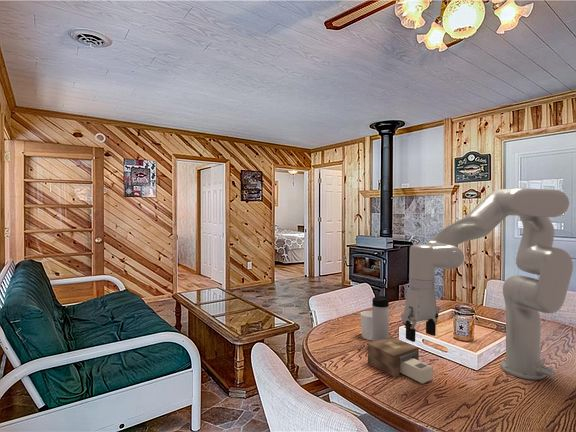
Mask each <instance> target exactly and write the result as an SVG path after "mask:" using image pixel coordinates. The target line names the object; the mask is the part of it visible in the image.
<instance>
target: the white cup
mask: <svg viewBox="0 0 576 432" xmlns="http://www.w3.org/2000/svg"><path fill="white" fill-rule="evenodd" d="M360 327H361V337H362V338H363V339H364V340H367V341H372V310H365V311H361V312H360Z"/></svg>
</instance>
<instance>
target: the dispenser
mask: <svg viewBox="0 0 576 432" xmlns="http://www.w3.org/2000/svg"><path fill="white" fill-rule="evenodd" d="M419 349H420V347H418V346H415V345H414V344H411V343H409V342H406V341H404V340H400V339H399V338H396V337H393V336H392V335H391V336H389V337H388V338H384V339H381V340H378V341H374V342H372V341H371V342H368V343H367V364H369V365H371V366H372V367H375V368H376V369H378V370H380V371H381V372H384V373H386V374H387V375H389V376H392V377H393V378H395V377H398V376H400V372H399V361H402V360H404V359H407V358H410V357H412V358H414V359H416V360H418V361H420V357H419V356H420V354H419V351H420V350H419Z"/></svg>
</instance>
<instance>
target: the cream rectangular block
mask: <svg viewBox="0 0 576 432" xmlns="http://www.w3.org/2000/svg"><path fill="white" fill-rule="evenodd" d="M433 367H434V366H431V365H429V364H427V363H425V362H422V361H421V360H419V361H418V360H416V359H414V358H412V357H410V358H407V359H404V360H402V361H399V374H400V373H401V374H402V375H405V376H406V377H409V378H410V379H412V380H414V381H416V382H419V383H420V384H422V385H423V384H425V383H427V382H429V381H432V380H433V379H434V378H433V377H434V370H433V369H434V368H433Z"/></svg>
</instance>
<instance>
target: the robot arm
mask: <svg viewBox="0 0 576 432" xmlns="http://www.w3.org/2000/svg"><path fill="white" fill-rule="evenodd" d="M569 206H570V199H569V197H568V196H567V194H566V193H565V192H563V191H561V190H559V189H548V188H525V187H513V188H501V189H500V188H499V189H496V190H494V191H492V192H490V193H489V194H488V195H487V196H485V197H484V199H482V201H480V202H479V203H478V204H477V205H476V206H475V208H473V209H472V210H471V211H470V212H469V213H468V214H467V215H465V216H463V218H461V219H459V220H457V221H455V222H454V223H451V224H449V225H448V226H446V227H444V228H442V229H441V230H440V231H439V232H437V233H436V234H434V235H433V237H432V238H431V239H429V241H427V243H426V244H424V243H423V244H422V243H421V244H420V243H418V244H417V243H416V244H412V245H411V246H410V248H409V270H408V271H409V273H408V279H409V280H408V283H409V284H408V285H409V286H408V288H407V291H406V294H405V301H404V312H403V313H402V314H401V315H400V317H401V320H402V323H403V325H404V327H405V339H406V340H407V341H411V342H412V343H414V342H416V328H415V327H416V325H417V323H419V322H420V323H421V322H423V321H424V322H425V333H426V334H427V335H429V336H433V337H435V336H436V332H437V331H436V327H437V326H436V325H437V322H438V317H439V314H440V311H441V308H440V307H439V306H438V305H437V296H436V288H435V285H436V284H435V283H436V282H435V281H436V277H435V276H436V269H437V268H439V269H446V270H454V269H457V268H459V267H460V266H461V265H462V264H463V263H464V261H465V255H464V252H463V251H462V249H461V248H459V247H458V245H461V244H463V243H465V242H468V241H469V242H470V241H473V240H477V239H481V238H484V237H486V236H488V235H489V234H490V233H491V232H492V231H494V229H495V228H497V226H499V224H501V222H503V221H504V220H505V219H506V218H507V217H509V216H518V217H519V219H520V221H521V223H522V226H523V227H522V235H521V240H520V242H519V246H518V250H517V253H516V257H515V264H516V267H517V268H518V269H519V270H521V271H522V272H526V273H527V274H532V275H536V276H539V278H534V277H529V276H524V275H516V274H515V275H511V276H509V277H507V278H506V280H504V282H503V285H502V295H503V299H504V305H505V359H504V360H501V361H500V368H501V370H502V371H504V372H505V373H508V374H509V375H512V376H515V377H517V378H521V379H525V380H535V381H536V380H543V379H544V378H546V377H550V378H552V379H553V378H555V376H556V373H555V371H554V368H551V367H548V366H546V365H545V362H544V360H542V359H541V330H542V328H541V327H542V323H541V316H540V313H543V314H555V313H557V312H559V311H560V310H561V308H562V307H563V305H564V303H565V301H566V296H567V293H568V289H569V286H570V282H571V279H572V275H573V271H574V270H573V269H574V263H573V259H572V257H571V255H570V253H568V252H567V251H566V250H564V249H562V248H559V247H553V243H554V239H555V228H554V225H553V223H552V220H551V219H550V218H558V217H560V216H562V215H564V214H565V213H566V212H567V211H568V209H569Z"/></svg>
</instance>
